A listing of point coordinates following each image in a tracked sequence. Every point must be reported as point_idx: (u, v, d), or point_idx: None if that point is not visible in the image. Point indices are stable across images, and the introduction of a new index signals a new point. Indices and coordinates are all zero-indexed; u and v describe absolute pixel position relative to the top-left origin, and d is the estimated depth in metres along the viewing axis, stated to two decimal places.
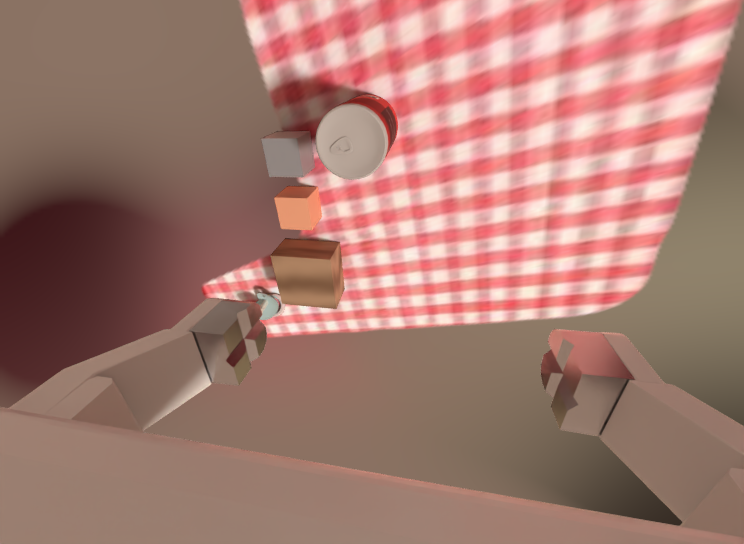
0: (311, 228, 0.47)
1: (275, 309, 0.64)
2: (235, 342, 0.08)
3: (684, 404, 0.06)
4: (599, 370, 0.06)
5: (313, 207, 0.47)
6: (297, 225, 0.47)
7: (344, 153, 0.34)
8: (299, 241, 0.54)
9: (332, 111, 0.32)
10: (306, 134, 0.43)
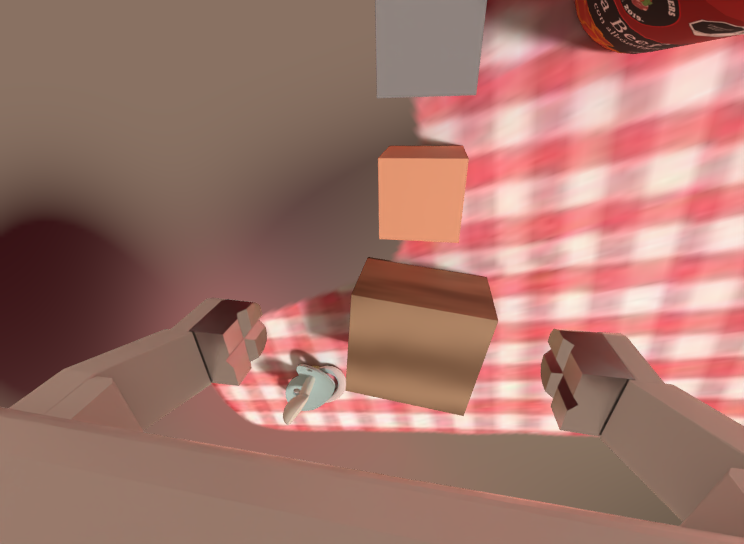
0: (457, 238, 0.20)
1: (327, 393, 0.35)
2: (235, 342, 0.08)
3: (684, 404, 0.06)
4: (599, 370, 0.06)
5: None
6: (423, 229, 0.20)
7: None
8: (401, 266, 0.26)
9: None
10: None
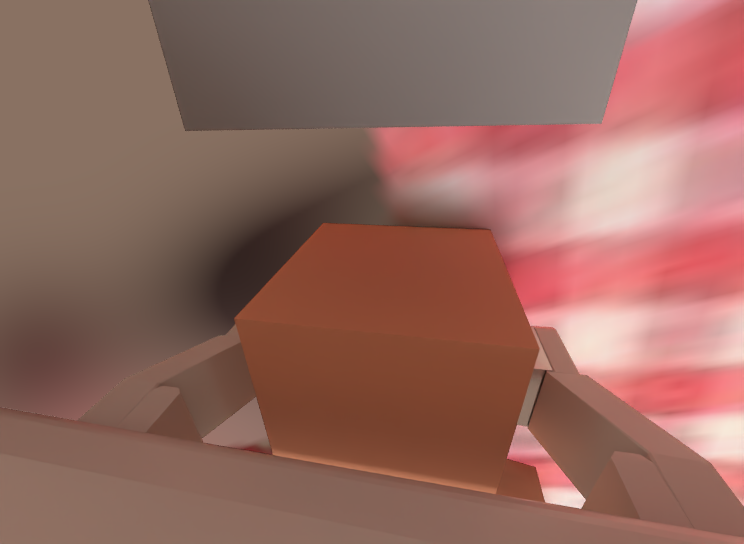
0: None
1: None
2: None
3: (591, 393, 0.06)
4: None
5: None
6: None
7: None
8: None
9: None
10: None
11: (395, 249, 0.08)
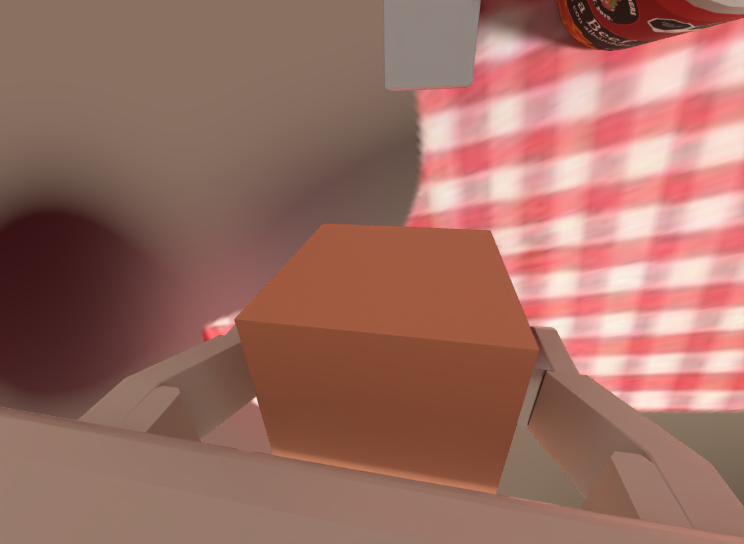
0: None
1: None
2: None
3: (591, 393, 0.06)
4: None
5: None
6: None
7: None
8: None
9: None
10: None
11: (395, 250, 0.08)
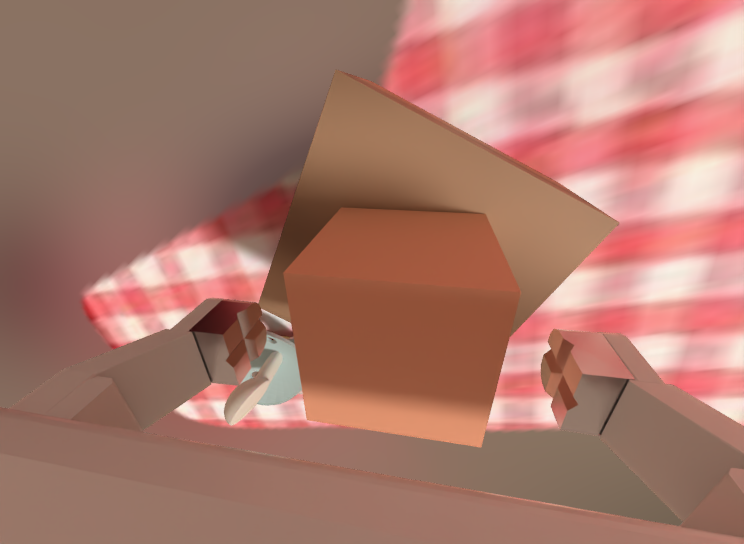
0: (478, 438, 0.09)
1: None
2: (235, 342, 0.08)
3: (684, 404, 0.06)
4: (599, 370, 0.06)
5: None
6: (401, 417, 0.09)
7: None
8: (427, 112, 0.14)
9: None
10: None
11: (406, 227, 0.09)
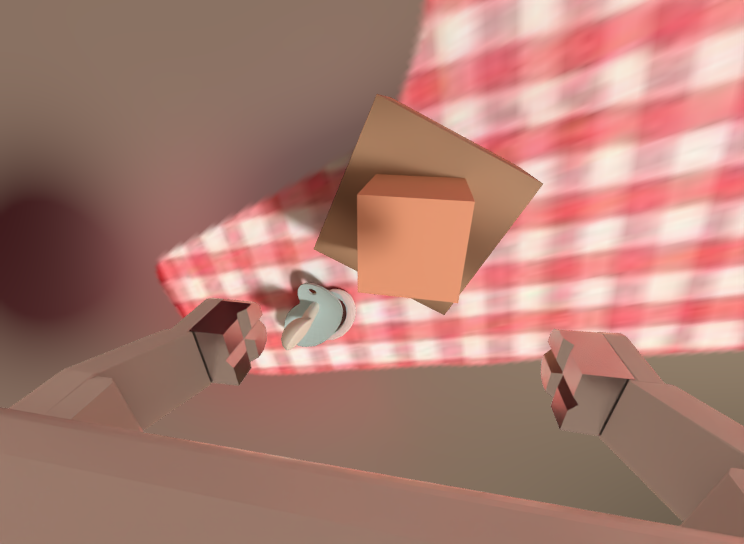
0: (456, 297, 0.15)
1: (333, 323, 0.30)
2: (235, 342, 0.08)
3: (684, 404, 0.06)
4: (599, 370, 0.06)
5: None
6: (413, 285, 0.15)
7: None
8: (429, 118, 0.21)
9: None
10: None
11: (417, 182, 0.16)
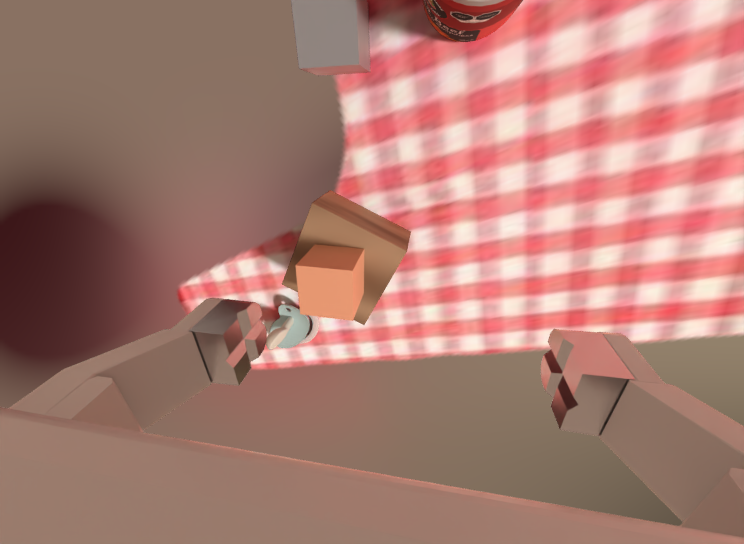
0: (352, 317, 0.28)
1: (303, 331, 0.43)
2: (235, 342, 0.08)
3: (684, 404, 0.06)
4: (599, 370, 0.06)
5: (357, 283, 0.29)
6: (328, 310, 0.28)
7: None
8: (353, 203, 0.34)
9: None
10: (364, 0, 0.25)
11: (334, 253, 0.29)
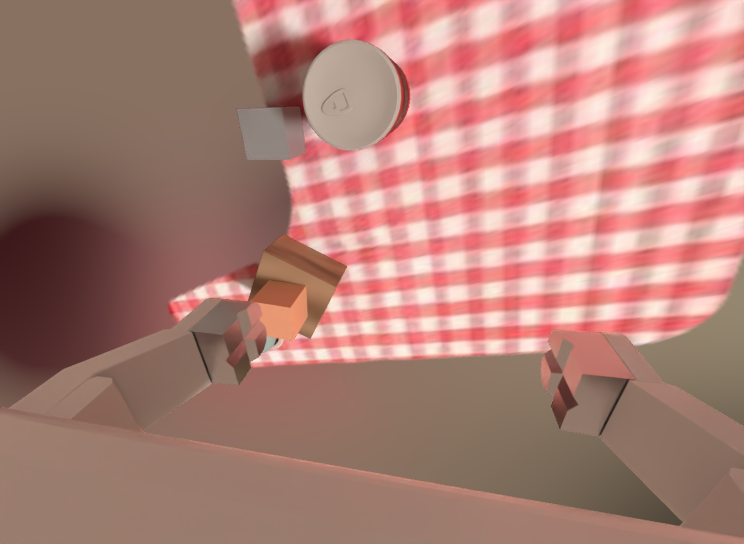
0: (292, 338, 0.38)
1: (272, 341, 0.53)
2: (235, 342, 0.08)
3: (684, 404, 0.06)
4: (599, 370, 0.06)
5: (297, 313, 0.39)
6: (275, 333, 0.38)
7: (341, 113, 0.25)
8: (301, 245, 0.44)
9: (326, 50, 0.23)
10: (295, 108, 0.34)
11: (281, 289, 0.39)
